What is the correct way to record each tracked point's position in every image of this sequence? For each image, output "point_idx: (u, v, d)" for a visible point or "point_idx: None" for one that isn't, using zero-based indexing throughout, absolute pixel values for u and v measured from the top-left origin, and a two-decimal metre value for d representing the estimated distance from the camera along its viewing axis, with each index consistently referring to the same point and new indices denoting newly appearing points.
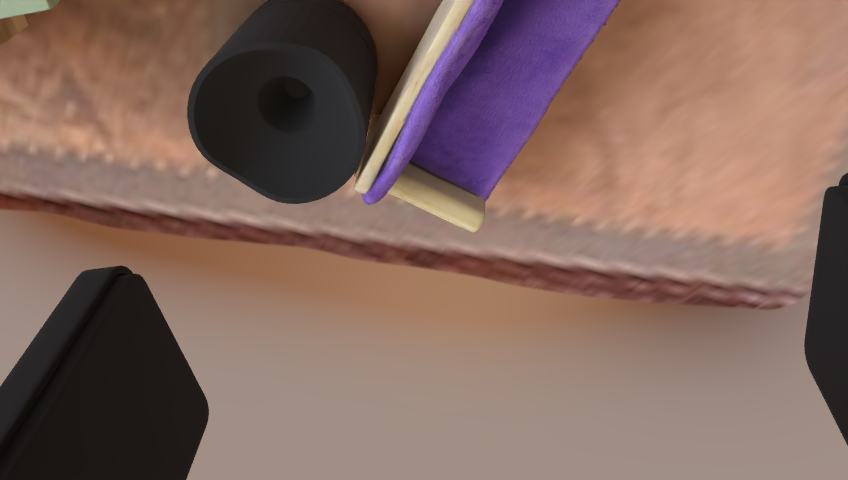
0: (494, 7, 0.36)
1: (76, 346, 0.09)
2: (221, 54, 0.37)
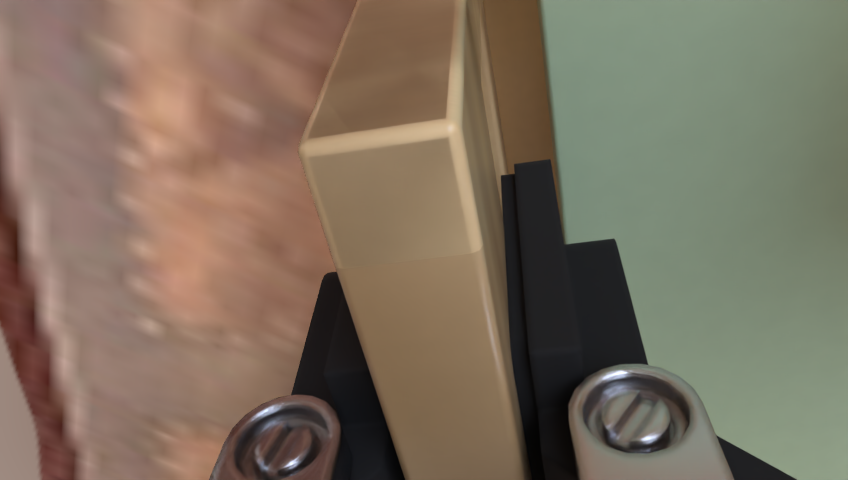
0: None
1: None
2: None
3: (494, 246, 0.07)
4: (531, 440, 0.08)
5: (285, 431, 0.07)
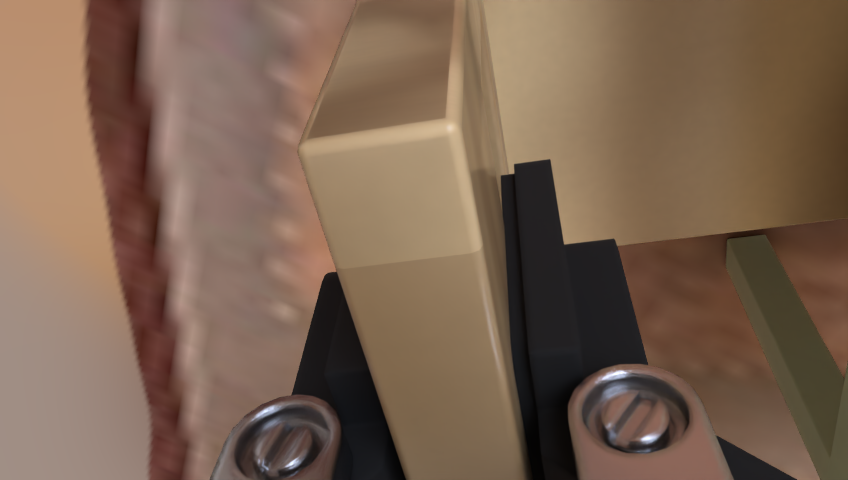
0: None
1: None
2: None
3: (495, 246, 0.07)
4: (531, 440, 0.08)
5: (286, 431, 0.07)
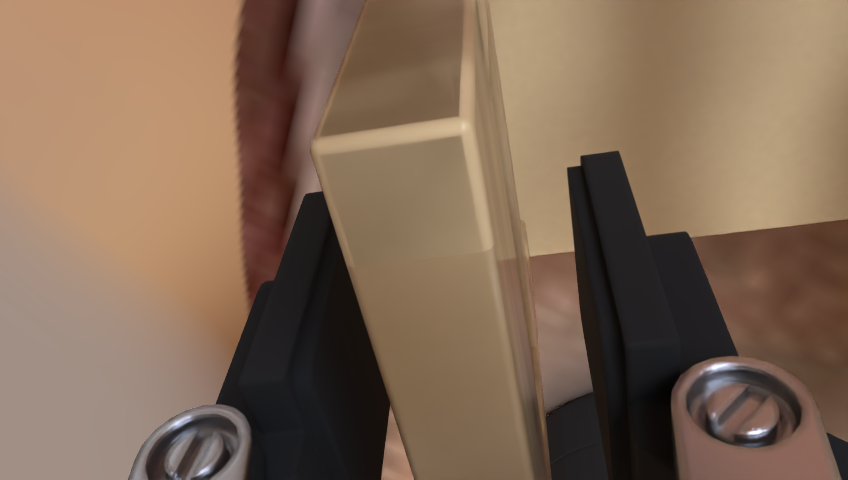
0: None
1: (328, 254, 0.09)
2: None
3: (504, 245, 0.07)
4: (617, 435, 0.08)
5: (196, 441, 0.08)
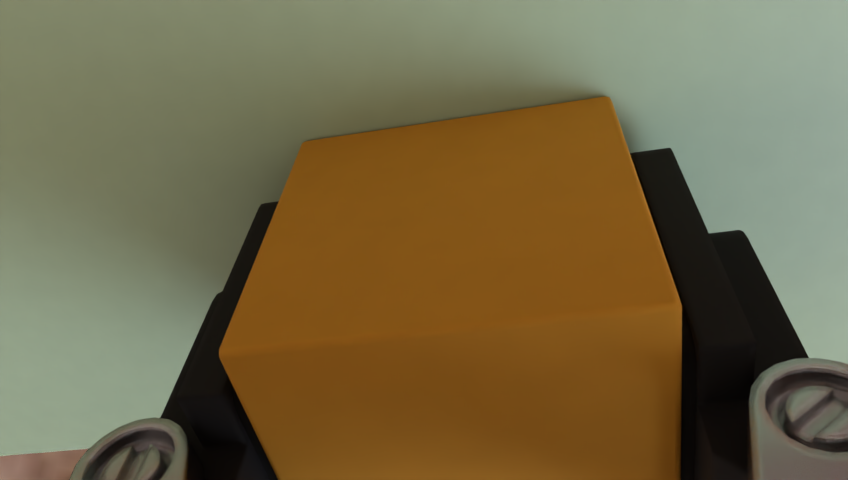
0: None
1: None
2: None
3: None
4: (682, 439, 0.08)
5: (131, 456, 0.08)
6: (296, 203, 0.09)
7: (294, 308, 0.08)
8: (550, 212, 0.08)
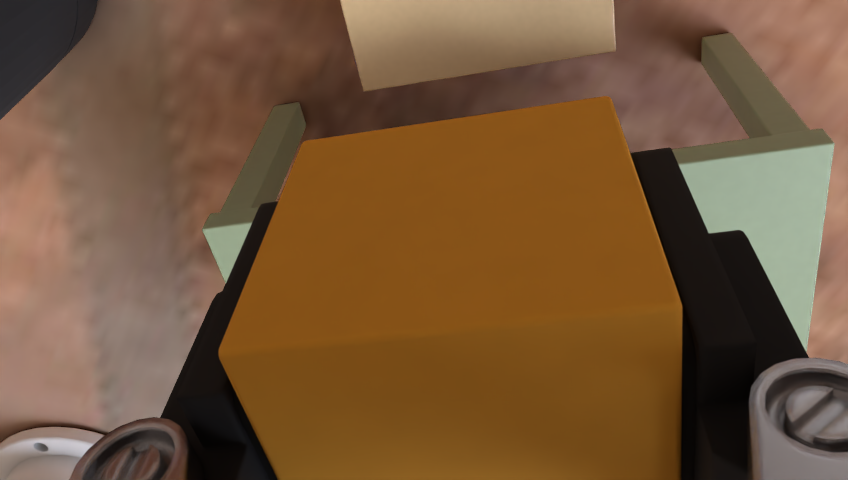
0: None
1: None
2: None
3: None
4: (682, 438, 0.08)
5: (131, 456, 0.08)
6: (297, 203, 0.09)
7: (294, 308, 0.08)
8: (550, 212, 0.08)
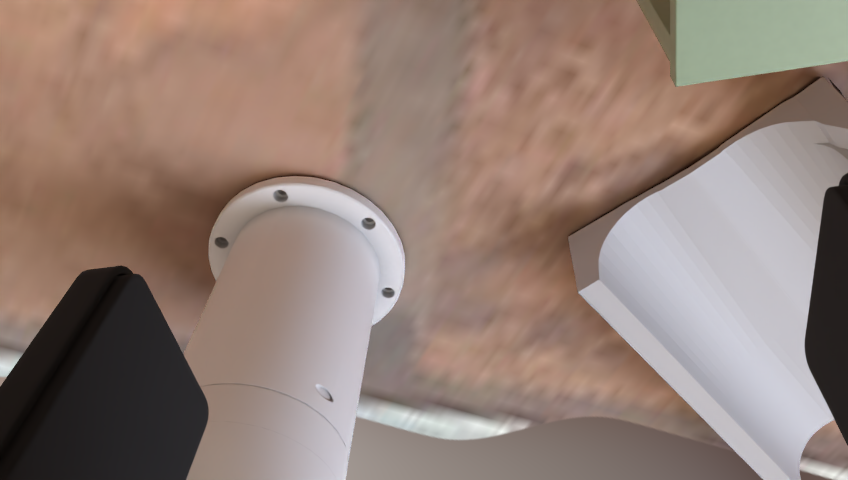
0: None
1: (76, 346, 0.09)
2: None
3: None
4: None
5: None
6: None
7: None
8: None
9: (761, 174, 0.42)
